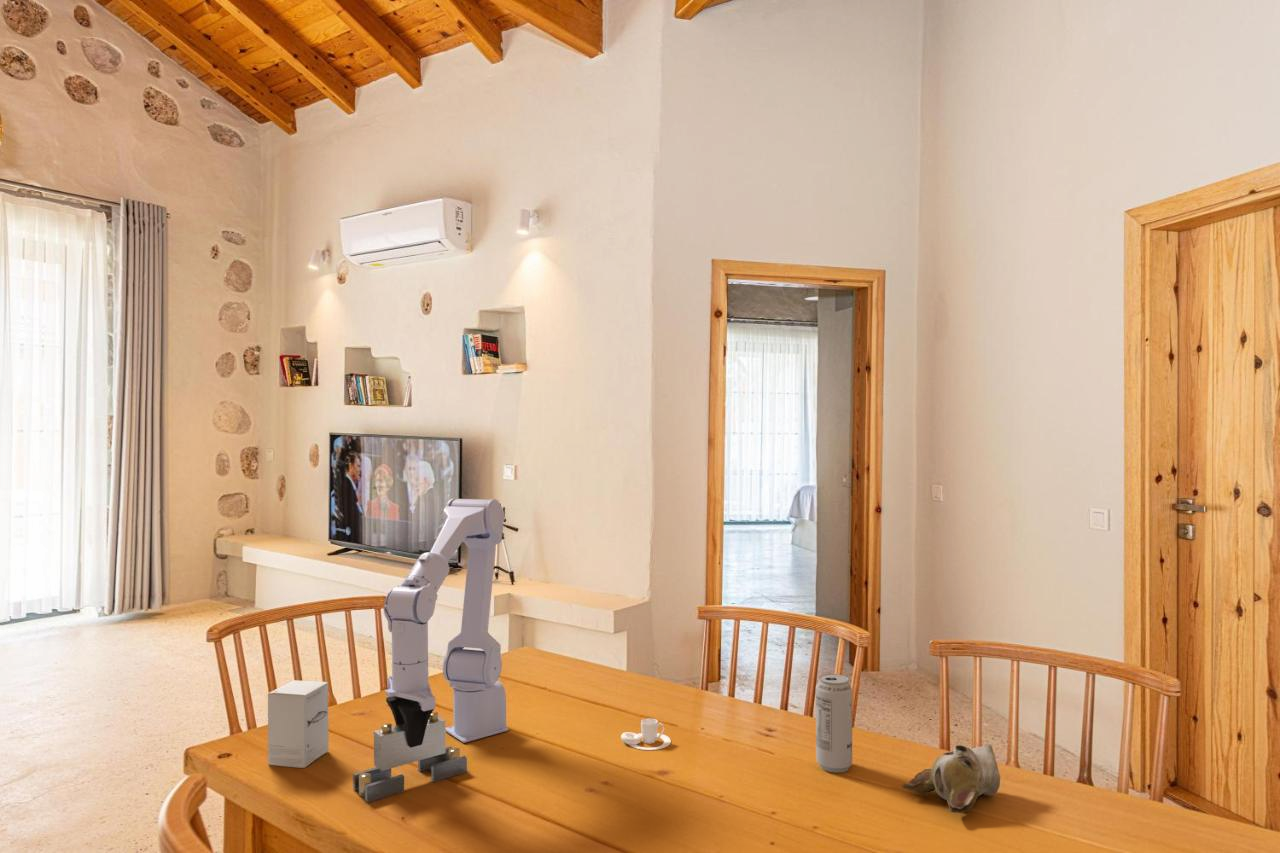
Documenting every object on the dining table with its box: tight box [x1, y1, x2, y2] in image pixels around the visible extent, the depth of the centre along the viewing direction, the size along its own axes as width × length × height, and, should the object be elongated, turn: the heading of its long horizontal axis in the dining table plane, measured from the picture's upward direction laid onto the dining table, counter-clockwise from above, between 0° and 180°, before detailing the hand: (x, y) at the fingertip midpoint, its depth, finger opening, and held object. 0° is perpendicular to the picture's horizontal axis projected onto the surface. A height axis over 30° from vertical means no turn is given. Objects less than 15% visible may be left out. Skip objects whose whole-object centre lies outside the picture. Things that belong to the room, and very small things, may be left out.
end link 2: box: [417, 745, 468, 783], centre depth 138 cm, size 6×6×3 cm
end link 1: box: [352, 766, 405, 804], centre depth 131 cm, size 6×6×3 cm
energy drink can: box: [815, 673, 853, 774], centre depth 139 cm, size 6×6×15 cm
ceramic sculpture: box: [901, 743, 1001, 814], centre depth 127 cm, size 11×9×15 cm
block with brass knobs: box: [373, 711, 446, 771], centre depth 135 cm, size 11×3×6 cm, turn 129°
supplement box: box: [267, 679, 329, 769], centre depth 144 cm, size 7×7×13 cm
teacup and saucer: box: [620, 717, 672, 751], centre depth 150 cm, size 9×8×4 cm
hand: (410, 742), depth 135 cm, fingers closed on block with brass knobs, 3 cm apart
